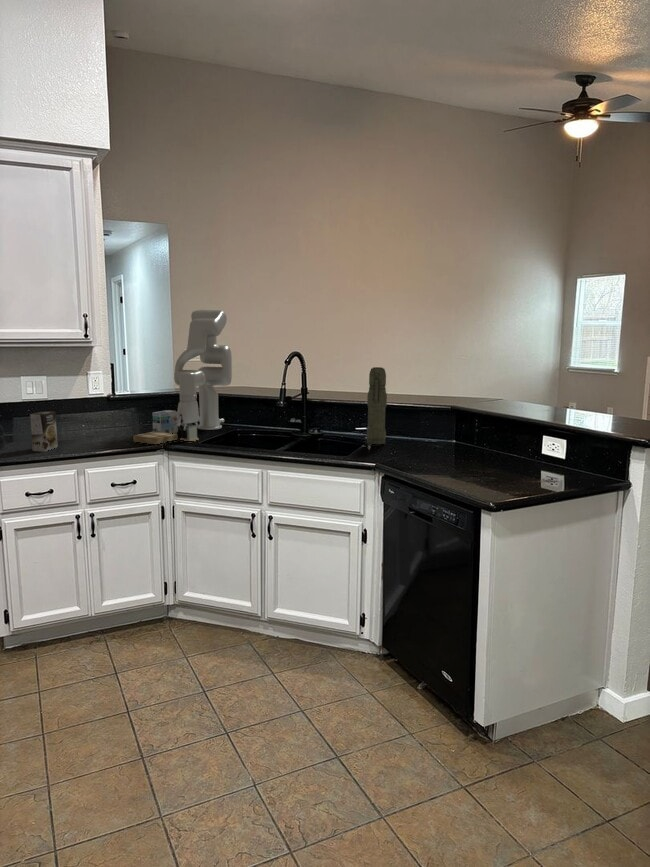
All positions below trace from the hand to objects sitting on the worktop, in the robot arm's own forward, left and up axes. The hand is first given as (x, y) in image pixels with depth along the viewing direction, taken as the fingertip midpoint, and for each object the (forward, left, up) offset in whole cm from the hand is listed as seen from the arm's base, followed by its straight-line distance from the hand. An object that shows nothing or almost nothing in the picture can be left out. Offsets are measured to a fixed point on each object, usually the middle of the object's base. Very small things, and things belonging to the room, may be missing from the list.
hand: (189, 436), depth 299 cm
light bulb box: (-7, -22, -2) cm, 24 cm away
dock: (+10, -11, -2) cm, 15 cm away
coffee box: (+49, -37, -2) cm, 62 cm away
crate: (0, 0, -2) cm, 2 cm away
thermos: (-44, +75, -2) cm, 87 cm away
